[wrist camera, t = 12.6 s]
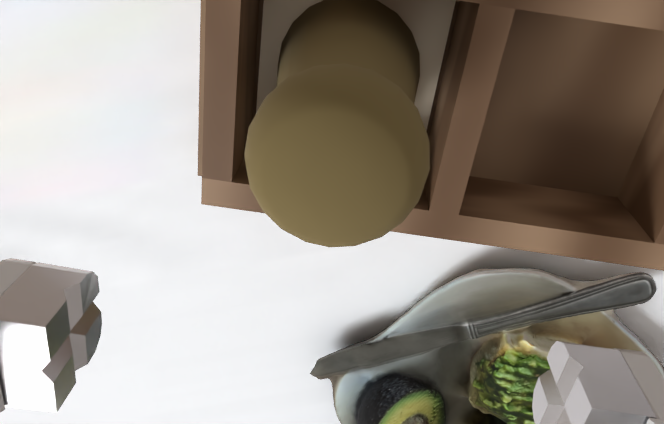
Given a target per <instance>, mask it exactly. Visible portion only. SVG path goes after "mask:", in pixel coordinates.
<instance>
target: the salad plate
mask: <svg viewBox="0 0 664 424" xmlns="http://www.w3.org/2000/svg"><path fill="white" fill-rule="evenodd" d="M655 292H656V284H655V281H654V280H653V278H652V277H651V276H650V275H649V274H646V273H642V272H635V273H629V274H623V275H617V276H614V277H610V278H606V279H601V280H595V281H577V280H570V279H567V278H564V277H561V276H557V275H555V274H552V273H549V272H546V271H543V270H540V269H532V268H526V269H521V268H505V269H484V268H483V269H477V270H474V271H472V272H469V273H467V274H464V275H462V276H459V277H457V278H455V279H454V280H452V281H450V282H448V283H447V284H445V285H443V286H441V287H439V288H437V289H436V290H434V291H433V292H431V293H430V294H428V295H427V296H426V297H424V298H423V299H421V300H420V301H419V302H417V303H416V304H415V305H414V306H413V307H412V308H411V309H410V310H409V311H407V312H406V313H405V314H404V315H402V316H401V317H400V318H398V319H397V320H396V321H395V322H394V323H393V324H391V325H390V326H389V327H388V328H387V329H385V330H384V331H382V332H380V333H379V334H377V335H376V336H374V337H373V338H370V339H368V340H366V341H363V342H361V343H357V344H354V345H351V346H348V347H346V348H343V349H341V350H338V351H336V352H334V353H331V354H329V355H327V356H325V357H322V358H320V359H319V360H317V362H316V365H315V367H314V368H313V369H312V371H311V373H310V374H311V375H313V376H315V377H317V378H318V379H325V378H328V379H330V380H331V382H332V387H333V398H334V407H335V410H336V414H337V417H338V419H339V421H340V422H341V424H535V422H534V418H533V409H532V403H533V393H534V389H535V386H536V383H537V380H538V378H539V376H541V375H542V374H544V373H545V372H547V371H548V370H550V366H549V363H548V360H547V356H548V353H549V351H550V349H551V347H552V346H553V344H554V343H555V342H556V341H561V342H568V343H575V344H582V345H589V346H596V347H603V348H610V349H614V348H617V349H625V350H634V351H642V352H644V353H646V354H647V355H648V356H649V357H650V358H651V359H652V361H653V363H654V364H655V366H656V368H657V369H658V371H659V372H660V374H661V376H662V377H663V379H664V367H663V366H662V364H661V362H660V361H659V360H658V359H657V358H656V357H655V356H654V355H653V354H652V353H651V352H650V351H649V350H648V349H647V347H646V346H645V345H644V343H643V342H642V341H641V340H640V339H639V338H638V337H637V336H636V335H635V334H634V333H633V332H632V331H630V330H629V329H628V328H627V327H626V326H625V325H623V324H622V323H621V322H620V320H619V318H618V317H617V315H616V314H615V312H614V309H618V308H623V307H628V306H633V305H637V304H642V303H645V302H647V301H648V300H650V299H651V298H652V296H653V295H654V294H655Z"/></svg>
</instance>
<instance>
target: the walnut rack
mask: <svg viewBox="0 0 664 424" xmlns="http://www.w3.org/2000/svg"><path fill="white" fill-rule="evenodd" d="M321 1H323V0H201V24H200V81H199V138H198V176H202V202H201V204H205V205H212V206H219V207H226V208H233V209H239V210H246V211H253V212H260V213H265V212H264V211H262V209H261V207H260V205H259V203H258V202H257V200H256V198H255V196H254V194H253V192H252V191H251V189H250V185H249V180H248V174H247V169H246V164H245V155H244V153H245V147H246V141H247V134H248V128H249V126H250V124H251V122H252V120H253V119H254V117H255V115H256V113H257V111H258V109H259V108H260V106H261V104H262V102H263V101H264V99H265V97H266V96H267V95H268V94H269V93H270V92H271V91H273V90H274V89H275V88H276V87H277V71H278V61H279V55H280V49H281V44H282V41H283V39H284V37H285V35H286V34H287V32H288V30H289V28H290V26H291V24H292V22H294V21H295V20H296V19H297V18H298V17H299V16H300V15H301V14H302V13H303V12H304V11H305V10H306V9H307V8H309V7H310V6H312V5H314V4H316V3H319V2H321ZM378 1H379V2H381V3H382V4H384V5H385V6H387V7H388V8H390V9H391V10H393V11H395V12H396V13H398V15H399V16H400V17H401V19H402V20H403V21H404V22H405V24H406V25H407V26H408V27H409V29H410V30H411V31H412V34H413V36H414V39H415V42H416V45H417V47H418V50H419V53H420V78H419V83H418V88H417V92H416V97H415V102H414V105H415V106H416V107H417V108H418V111H419V113H420V116H421V119H422V121H423V124H424V127H425V129H426V132H427V135H428V138H429V142H430V170H429V173H428V176H427V179H426V182H425V185H424V188H423V191H422V194H421V197H420V199H419V202H418V203H417V204H416V206H415V207H414V208H413V210H412V211H411V212H410V214H409V215H408V216H407V217H406V219H405V220H404V221H403V222H402V223H401V224H399V225H398V226H397V227H395V228H394V229H392V230H391V231H393V232H399V233H406V234H413V235H420V236H427V237H434V238H441V239H448V240H455V241H462V242H469V243H476V244H483V245H490V246H497V247H504V248H511V249H518V250H525V251H532V252H539V253H546V254H553V255H560V256H566V257H573V258H580V259H587V260H594V261H601V262H608V263H615V264H622V265H629V266H636V267H643V268H650V269H657V270H664V0H378Z"/></svg>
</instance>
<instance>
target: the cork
mask: <svg viewBox="0 0 664 424" xmlns="http://www.w3.org/2000/svg"><path fill="white" fill-rule="evenodd" d="M419 78H420V53H419V50H418V47H417V45H416V42H415V39H414V36H413V34H412V31H411V30H410V29H409V27H408V26H407V25H406V24H405V22H404V21H403V20H402V19H401V17H400V16H399V15H398V13H396V12H395V11H393V10H391V9H390V8H388V7H387V6H385V5H384V4H382V3H381V2H379V1H378V0H323V1H321V2H319V3H316V4H314V5H312V6H310V7H309V8H307V9H306V10H305V11H304V12H303V13H302V14H301V15H300V16H299V17H298V18H297V19H296V20H295V21H294V22H292V24H291V26H290V28H289V30H288V32H287V34H286V35H285V37H284V39H283V41H282V44H281V49H280V55H279V61H278V71H277V87H276V88H275V89H274V90H273V91H271V92H270V93H269V94H268V95H267V96H266V97H265V99H264V101H263V102H262V104H261V106H260V108H259V109H258V111H257V113H256V115H255V117H254V119H253V120H252V122H251V124H250V126H249V128H248V134H247V141H246V147H245V153H244V155H245V164H246V169H247V174H248V180H249V185H250V189H251V191H252V192H253V194H254V196H255V198H256V200H257V202H258V203H259V205H260V207H261V209H262V211H264V212H265V213H266V214H267V215H268V216H269V217H270V218H271V219H272V220H273V221H274V222H275V223H276V224H277V225H278V226H279V227H280V228H281V229H283V230H285V231H286V232H288V233H290V234H292V235H294V236H296V237H298V238H300V239H302V240H303V241H305V242H309V243H313V244H318V245H322V246H327V247H343V246H356V245H359V244H362V243H365V242H368V241H371V240H374V239H377V238H380V237H382V236H384V235H385V234H387V233H388V232H389V231H391V230H392V229H394V228H395V227H397V226H398V225H399V224H401V223H402V222H403V221H404V220H405V219H406V217H407V216H408V215H409V214H410V212H411V211H412V210H413V208H414V207H415V206H416V204H417V203H418V202H419V199H420V197H421V194H422V191H423V188H424V185H425V182H426V179H427V176H428V173H429V170H430V142H429V138H428V135H427V132H426V129H425V127H424V124H423V121H422V119H421V116H420V113H419V111H418V108H417V107H416V106H415V105H414V102H415V97H416V92H417V88H418V83H419Z"/></svg>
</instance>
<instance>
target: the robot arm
mask: <svg viewBox="0 0 664 424" xmlns="http://www.w3.org/2000/svg"><path fill="white" fill-rule="evenodd" d="M98 293H99V284H98V276H97V275H96V274H95V273H94V272H92V271H86V270H80V269H74V268H68V267H62V266H56V265H51V264H45V263H36V262H31V261H25V260H19V259H12V258H9V259H5V260H2V261H1V262H0V412H2V411H3V410H5V406H6V407H15V408H23V409H32V410H40V411H48V412H58V410H59V408H60V407H61V405H62V404H63V402H64V401H65V399H66V397H67V396H68V394H69V393H70V391H71V390H72V388H73V386H74V385H75V383H76V379H75V371H76V370H77V369H79V368H81V367H83V366H85V365H87V364H88V363H89V361H90V359H91V357H92V356H93V354H94V352H95V350H96V347H97V344H98V341H99V338H100V334H101V325H102V320H101V311H100V310H99V309H98V308H97V306H96V305H95V304H94V303H93V300H94V299H95V297H96V296H97V294H98ZM547 360H548V363H549V366H550V370H548V371H547V372H545V373H544V374H542V375H541V376H539V378H538V380H537V383H536V386H535V389H534V393H533V403H532V409H533V418H534V422H535V424H664V379H663V377H662V376H661V374H660V372H659V371H658V369H657V368H656V366H655V364H654V363H653V361H652V359H651V358H650V357H649V356H648V355H647V354H646V353H644V352H642V351H634V350H625V349H617V348H614V349H610V348H603V347H596V346H589V345H582V344H575V343H568V342H561V341H556V342H555V343H554V344H553V346H552V347H551V349H550V351H549V353H548V356H547Z"/></svg>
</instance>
